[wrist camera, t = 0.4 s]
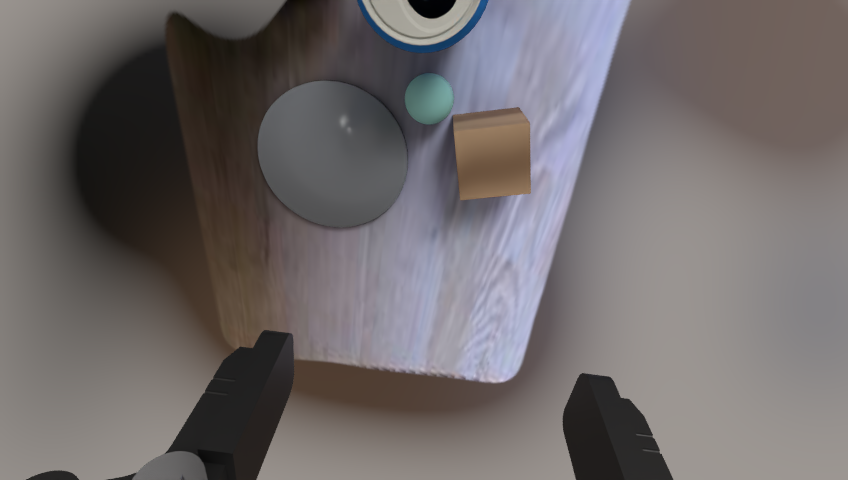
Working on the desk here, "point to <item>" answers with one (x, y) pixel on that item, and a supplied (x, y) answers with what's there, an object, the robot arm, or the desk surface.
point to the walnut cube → (492, 153)
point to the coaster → (332, 153)
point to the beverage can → (422, 21)
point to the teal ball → (429, 98)
